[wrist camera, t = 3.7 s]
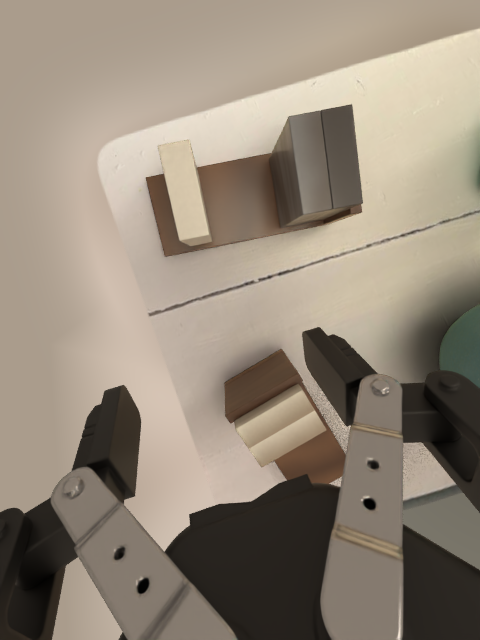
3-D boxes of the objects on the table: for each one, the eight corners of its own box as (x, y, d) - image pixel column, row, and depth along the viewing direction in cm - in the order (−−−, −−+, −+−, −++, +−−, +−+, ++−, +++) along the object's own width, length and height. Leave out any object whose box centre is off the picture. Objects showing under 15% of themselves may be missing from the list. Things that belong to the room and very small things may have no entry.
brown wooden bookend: (166, 256, 33) (142, 254, 23) (147, 180, 31) (113, 141, 21) (329, 224, 33) (375, 207, 23) (319, 146, 32) (363, 93, 22)
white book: (190, 246, 32) (179, 240, 24) (174, 176, 31) (157, 145, 22) (212, 242, 32) (209, 235, 24) (197, 172, 31) (189, 139, 22)
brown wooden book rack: (224, 382, 36) (225, 424, 27) (281, 348, 36) (302, 378, 26) (298, 494, 40) (321, 565, 30) (351, 464, 39) (391, 526, 30)
